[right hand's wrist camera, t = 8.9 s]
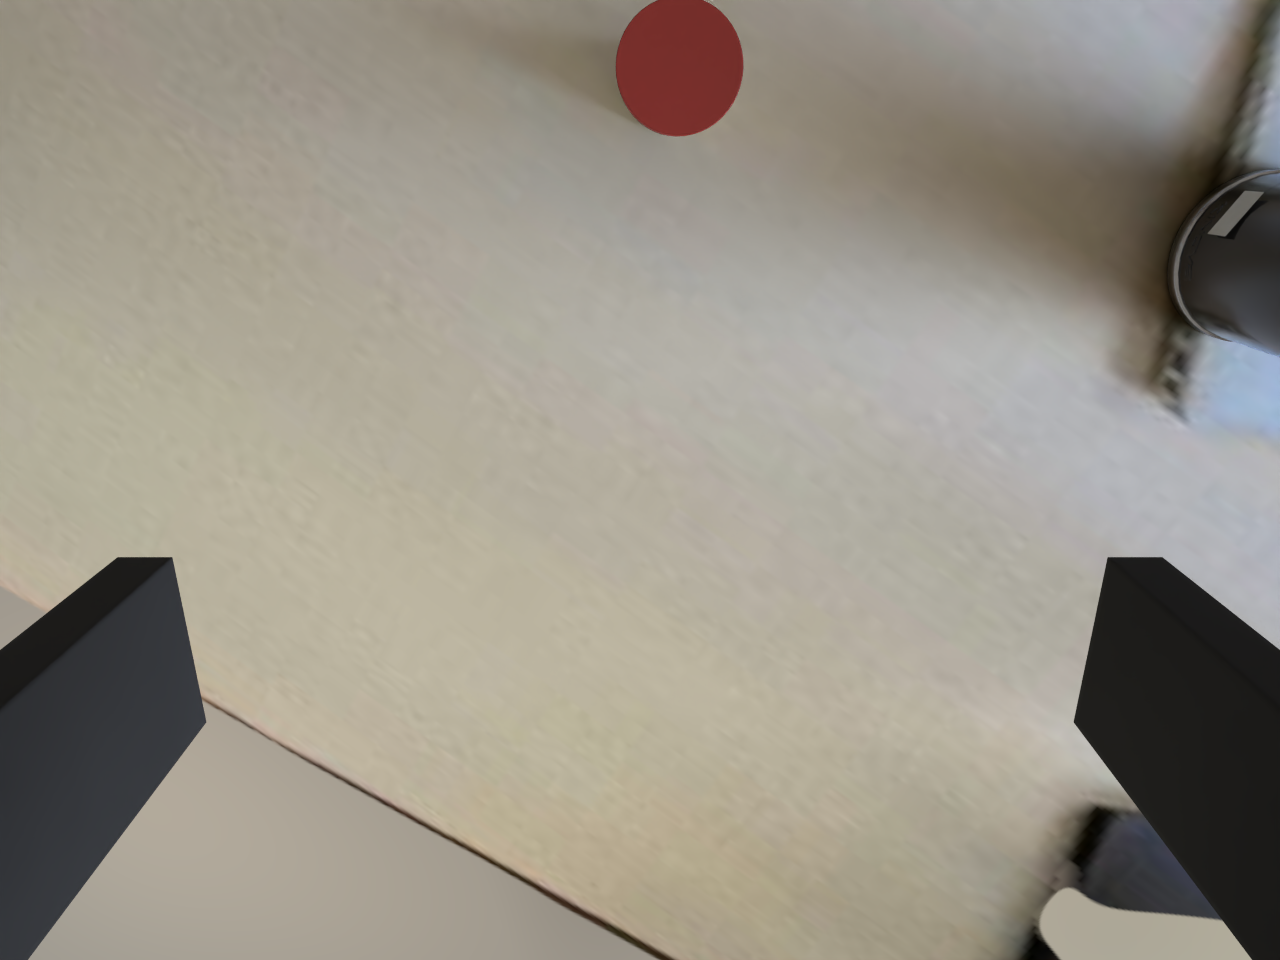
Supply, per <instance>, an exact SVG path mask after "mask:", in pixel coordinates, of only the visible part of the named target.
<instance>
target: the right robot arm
mask: <svg viewBox="0 0 1280 960" xmlns="http://www.w3.org/2000/svg"><path fill="white" fill-rule="evenodd" d="M205 723H206V718H205V714H204V709H203V704H202V699H201V694H200V689H199V685H198V680H197V675H196V670H195V665H194V660H193V655H192V651H191V646H190V641H189V636H188V631H187V626H186V622H185V617H184V612H183V607H182V602H181V597H180V593H179V588H178V583H177V578H176V573H175V568H174V564H173V559H172V557H117V558H116V559H115V560H114V561H112V562H111V563H110V564H109V565H107V566H106V567H105V568H104V569H102V570H101V571H100V572H98V573H97V574H96V575H95V576H93V577H92V578H91V579H90V580H88V581H87V582H86V583H85V584H83V585H82V586H81V587H79V588H78V589H77V590H76V591H74V592H73V593H72V594H71V595H69V596H68V597H67V598H66V599H64V600H63V601H62V602H60V603H59V604H58V605H57V606H55V607H54V608H53V609H52V610H50V611H49V612H48V613H47V614H45V615H44V616H43V617H42V618H40V619H39V620H38V621H36V622H35V623H34V624H33V625H31V626H30V627H29V628H28V629H26V630H25V631H24V632H23V633H21V634H20V635H19V636H17V637H16V638H15V639H14V640H12V641H11V642H10V643H9V644H7V645H6V646H5V647H4V648H2V649H1V650H0V960H28V959H29V957H30V956H31V955H32V953H33V952H34V951H35V949H36V948H37V947H38V945H39V944H40V943H41V941H42V940H43V939H44V937H45V936H46V935H47V933H48V932H49V931H50V929H51V928H52V927H53V926H54V924H55V923H56V921H57V920H58V919H59V918H60V916H61V915H62V913H63V912H64V911H65V909H66V908H67V907H68V906H69V904H70V903H71V902H72V900H73V899H74V898H75V896H76V895H77V894H78V892H79V891H80V890H81V888H82V887H83V885H84V884H85V883H86V882H87V880H88V879H89V878H90V876H91V875H92V874H93V872H94V871H95V870H96V868H97V867H98V866H99V864H100V863H101V862H102V860H103V859H104V858H105V856H106V855H107V854H108V852H109V851H110V850H111V848H112V847H113V846H114V844H115V843H116V842H117V840H118V839H119V838H120V836H121V835H122V834H123V832H124V831H125V830H126V828H127V827H128V826H129V824H130V823H131V822H132V820H133V819H134V818H135V816H136V815H137V814H138V812H139V811H140V810H141V808H142V807H143V806H144V804H145V803H146V802H147V800H148V799H149V798H150V796H151V795H152V794H153V792H154V791H155V790H156V788H157V787H158V786H159V784H160V783H161V782H162V780H163V779H164V778H165V776H166V775H167V774H168V772H169V771H170V770H171V768H172V767H173V766H174V764H175V763H176V762H177V760H178V759H179V758H180V756H181V755H182V754H183V752H184V751H185V750H186V748H187V747H188V746H189V745H190V743H191V742H192V741H193V739H194V738H195V737H196V735H197V734H198V733H199V731H200V730H201V729H202V727H203V726H204V725H205ZM1074 723H1075V725H1076V726H1077V727H1078V729H1079V730H1080V731H1081V733H1082V734H1083V735H1084V737H1085V738H1086V739H1087V741H1088V742H1089V743H1090V745H1091V746H1092V747H1093V748H1094V750H1095V751H1096V752H1097V754H1098V755H1099V756H1100V758H1101V759H1102V760H1103V762H1104V763H1105V764H1106V766H1107V767H1108V768H1109V770H1110V771H1111V772H1112V774H1113V775H1114V776H1115V778H1116V779H1117V780H1118V782H1119V783H1120V784H1121V786H1122V787H1123V788H1124V790H1125V791H1126V792H1127V794H1128V795H1129V796H1130V798H1131V799H1132V800H1133V802H1134V803H1135V804H1136V806H1137V807H1138V808H1139V810H1140V811H1141V812H1142V814H1143V815H1144V816H1145V818H1146V819H1147V820H1148V822H1149V823H1150V824H1151V826H1152V827H1153V828H1154V830H1155V831H1156V832H1157V834H1158V835H1159V836H1160V838H1161V839H1162V840H1163V842H1164V843H1165V844H1166V846H1167V847H1168V848H1169V850H1170V851H1171V852H1172V854H1173V855H1174V856H1175V858H1176V859H1177V860H1178V862H1179V863H1180V864H1181V866H1182V867H1183V868H1184V870H1185V871H1186V872H1187V874H1188V875H1189V876H1190V878H1191V879H1192V880H1193V882H1194V883H1195V884H1196V886H1197V887H1198V888H1199V890H1200V891H1201V892H1202V894H1203V895H1204V896H1205V898H1206V899H1207V900H1208V902H1209V903H1210V904H1211V906H1212V907H1213V908H1214V910H1215V911H1216V912H1217V914H1218V915H1219V916H1220V918H1221V919H1222V920H1223V922H1224V923H1225V924H1226V925H1227V927H1228V928H1229V929H1230V931H1231V932H1232V933H1233V935H1234V936H1235V937H1236V939H1237V940H1238V941H1239V943H1240V944H1241V945H1242V947H1243V948H1244V949H1245V951H1246V952H1247V953H1248V955H1249V956H1250V957H1251V959H1252V960H1280V650H1279V649H1278V648H1276V647H1275V646H1274V645H1273V644H1271V643H1270V642H1269V641H1268V640H1266V639H1265V638H1264V637H1263V636H1261V635H1260V634H1259V633H1257V632H1256V631H1255V630H1254V629H1252V628H1251V627H1250V626H1249V625H1247V624H1246V623H1245V622H1244V621H1242V620H1241V619H1240V618H1238V617H1237V616H1236V615H1235V614H1233V613H1232V612H1231V611H1230V610H1228V609H1227V608H1226V607H1225V606H1223V605H1222V604H1221V603H1220V602H1218V601H1217V600H1216V599H1214V598H1213V597H1212V596H1211V595H1209V594H1208V593H1207V592H1206V591H1204V590H1203V589H1202V588H1201V587H1199V586H1198V585H1197V584H1195V583H1194V582H1193V581H1192V580H1190V579H1189V578H1188V577H1187V576H1185V575H1184V574H1183V573H1182V572H1180V571H1179V570H1178V569H1176V568H1175V567H1174V566H1173V565H1171V564H1170V563H1169V562H1168V561H1166V560H1165V559H1164V558H1163V557H1108V559H1107V564H1106V568H1105V573H1104V578H1103V583H1102V588H1101V593H1100V597H1099V602H1098V607H1097V612H1096V617H1095V622H1094V626H1093V631H1092V636H1091V641H1090V646H1089V651H1088V655H1087V660H1086V665H1085V670H1084V675H1083V680H1082V685H1081V689H1080V694H1079V699H1078V704H1077V709H1076V714H1075V718H1074Z"/></svg>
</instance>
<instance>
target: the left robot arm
mask: <svg viewBox="0 0 1280 960" xmlns="http://www.w3.org/2000/svg"><path fill="white" fill-rule="evenodd" d="M1167 278H1168V287H1169V292H1170V296H1171V299H1172V301H1173V304H1174V306H1175V308H1176V309H1177V311H1178V313H1179V314H1180V315H1181V317H1182V318H1183V319H1184V320H1185V321H1186V322H1187V323H1188V324H1189V325H1191V326H1192V327H1193V328H1195V329H1196V330H1198V331H1200V332H1202V333H1204V334H1206V335H1209V336H1212V337H1215V338H1218V339H1221V340H1225V341H1230V342H1236V343H1239V344H1242V345H1245V346H1248V347H1250V348H1253V349H1256V350H1259V351H1262V352H1265V353H1268V354H1271V355H1274V356H1277V357H1280V170H1260V171H1255V172H1251V173H1247V174H1244V175H1241V176H1239V177H1236V178H1234V179H1232V180H1230V181H1228V182H1226V183H1224V184H1223V185H1221V186H1219V187H1218V188H1216V189H1215V190H1214V191H1212V192H1211V193H1210V194H1208V195H1207V196H1206V197H1205V198H1204V199H1203V200H1202V201H1201V202H1200V203H1199V204H1198V205H1197V206H1196V207H1195V208H1194V209H1193V210H1192V211H1191V213H1190V214H1189V215H1188V217H1187V218H1186V219H1185V221H1184V223H1183V224H1182V226H1181V228H1180V229H1179V231H1178V233H1177V235H1176V238H1175V240H1174V243H1173V245H1172V249H1171V252H1170V256H1169V261H1168V273H1167Z"/></svg>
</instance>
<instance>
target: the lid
mask: <svg viewBox="0 0 1280 960" xmlns="http://www.w3.org/2000/svg"><path fill="white" fill-rule="evenodd" d="M742 76H743V54H742V48H741V44H740V41H739V38H738V36H737V33H736V31H735V29H734V28H733V26H732V24H731V23H730V21H729V20H728V19H727V17H726V16H725V15H724V14H723V13H722V12H721V11H720V10H718V9H717V8H716V7H714V6H713V5H711V4H710V3H708V2H706V1H704V0H657V1H655V2H653V3H651V4H649V5H648V6H646V7H645V8H644V9H642V10H641V11H640V12H639V13H638V14H637V15H636V16H635V17H634V18H633V19H632V21H631V22H630V23H629V25H628V26H627V28H626V30H625V31H624V33H623V36H622V38H621V40H620V43H619V47H618V51H617V56H616V77H617V83H618V87H619V90H620V94H621V96H622V98H623V101H624V103H625V105H626V106H627V108H628V110H629V111H630V112H631V114H632V115H633V116H634V117H635V118H636V119H637V120H638V121H639V122H640V123H641V124H643V125H644V126H645V127H647V128H648V129H650V130H652V131H654V132H657V133H659V134H663V135H667V136H687V135H692V134H695V133H698V132H701V131H703V130H705V129H707V128H709V127H711V126H712V125H714V124H715V123H716V122H718V121H719V120H720V119H721V118H722V117H723V116H724V115H725V114H726V112H727V111H728V110H729V109H730V107H731V106H732V104H733V102H734V100H735V98H736V96H737V94H738V91H739V89H740V86H741V81H742Z"/></svg>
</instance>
